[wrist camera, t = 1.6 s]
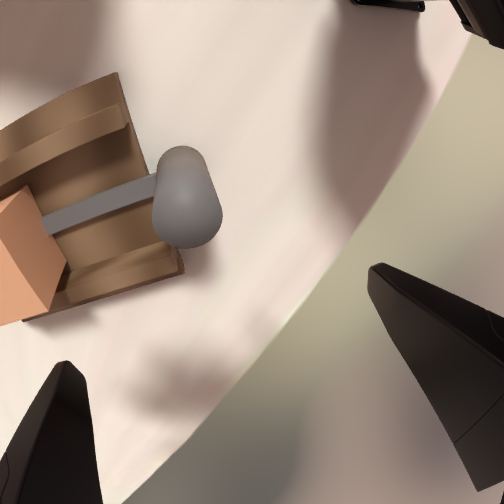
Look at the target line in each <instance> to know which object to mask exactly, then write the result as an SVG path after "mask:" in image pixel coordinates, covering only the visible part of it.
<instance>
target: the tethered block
mask: <svg viewBox="0 0 504 504" xmlns="http://www.w3.org/2000/svg"><path fill="white" fill-rule="evenodd" d="M152 196H154V200H153V211H152V223H153V227H154V230H155V232H156V234H157V235H158V236H159V237H160V239H161V240H163V241H164V242H165V243H167V244H169V245H171V246H173V247H177V248H183V249H189V248H195V247H198V246H201V245H203V244H205V243H207V242H208V241H210V240H211V239H212V238H213V237H214V236H215V235H216V233H217V232H218V230H219V228H220V226H221V223H222V217H223V215H222V208H221V205H220V202H219V199H218V197H217V194H216V191H215V188H214V185H213V183H212V180H211V177H210V174H209V172H208V169H207V166H206V163H205V160H204V158H203V156H202V155H201V154H200V153H199V152H198V151H197V150H195V149H194V148H191V147H188V146H177V147H174V148H171V149H169V150H168V151H166V152H165V153H164V154H163V155H162V156H161V158H160V160H159V162H158V165H157V172H156V173H153V174H150V175H147V176H145V177H142V178H139V179H136V180H133V181H130V182H128V183H125V184H122V185H119V186H117V187H114V188H111V189H109V190H106V191H103V192H101V193H98V194H96V195H93V196H91V197H88V198H86V199H83V200H81V201H78V202H76V203H73V204H71V205H69V206H66V207H64V208H62V209H59V210H57V211H55V212H53V213H50V214H48V215H46V216H44V217H43V216H42V214H41V212H40V210H39V208H38V206H37V204H36V202H35V200H34V198H33V195H32V193H31V191H30V189H29V187H28V185H25V186H23V187H21V188H19V189H17V190H15V191H14V192H12V193H10V194H8V195H6V196H5V197H3V198H1V199H0V326H3V325H6V324H9V323H13V322H16V321H19V320H22V319H25V318H29V317H32V316H35V315H38V314H42V313H45V312H48V311H49V308H50V305H51V302H52V299H53V296H54V293H55V291H56V288H57V285H58V282H59V279H60V277H61V274H62V271H63V269H64V266H65V264H66V261H67V260H66V258H65V257H64V255H63V253H62V251H61V250H60V248H59V246H58V244H57V243H56V241H55V239H54V237H53V235H52V234H54V233H56V232H58V231H61V230H63V229H66V228H68V227H71V226H73V225H76V224H78V223H81V222H83V221H86V220H88V219H91V218H94V217H96V216H99V215H102V214H104V213H107V212H110V211H112V210H115V209H118V208H121V207H123V206H126V205H129V204H132V203H135V202H138V201H141V200H144V199H146V198H149V197H152Z"/></svg>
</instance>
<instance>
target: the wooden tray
mask: <svg viewBox="0 0 504 504" xmlns="http://www.w3.org/2000/svg"><path fill="white" fill-rule="evenodd" d="M147 175H150V174H149V172H148V169H147V166H146V163H145V160H144V157H143V154H142V151H141V148H140V145H139V142H138V139H137V136H136V133H135V130H134V126H133V123H132V120H131V117H130V114H129V110H128V107H127V104H126V101H125V97H124V94H123V90H122V87H121V83H120V80H119V76H118V73H117V72H116V73H112V74H109V75H107V76H104V77H102V78H100V79H97V80H95V81H92V82H90V83H88V84H85V85H83V86H81V87H79V88H77V89H74V90H72V91H70V92H68V93H66V94H64V95H62V96H60V97H58V98H56V99H54V100H52V101H50V102H48V103H46V104H44V105H42V106H41V107H39V108H37V109H35V110H33V111H32V112H30V113H28V114H26V115H25V116H23V117H21V118H19V119H18V120H16V121H14V122H13V123H11V124H10V125H8V126H6V127H5V128H3V129H2V130H0V199H1V198H3V197H5V196H6V195H8V194H10V193H12V192H14V191H15V190H17V189H19V188H21V187H23V186H25V185H28V187H29V189H30V191H31V193H32V195H33V198H34V200H35V202H36V204H37V206H38V208H39V210H40V212H41V214H42V216H43V217H44V216H46V215H48V214H50V213H53V212H55V211H57V210H59V209H62V208H64V207H66V206H69V205H71V204H73V203H76V202H78V201H81V200H83V199H86V198H88V197H91V196H93V195H96V194H98V193H101V192H103V191H106V190H109V189H111V188H114V187H117V186H119V185H122V184H125V183H128V182H130V181H133V180H136V179H139V178H142V177H145V176H147ZM153 200H154V196H152V197H149V198H146V199H144V200H141V201H138V202H135V203H132V204H129V205H126V206H123V207H121V208H118V209H115V210H112V211H110V212H107V213H104V214H102V215H99V216H96V217H94V218H91V219H88V220H86V221H83V222H81V223H78V224H76V225H73V226H71V227H68V228H66V229H63V230H61V231H58V232H56V233H54V234H52V235H53V237H54V239H55V241H56V243H57V244H58V246H59V248H60V250H61V251H62V253H63V255H64V257H65V258H66V260H67V261H66V264H65V266H64V269H63V271H62V274H61V277H60V279H59V282H58V285H57V288H56V291H55V293H54V296H53V299H52V302H51V305H50V308H49V311H48V312H45V313H42V314H38V315H35V316H32V317H29V318H25V319H22V322H26V321H29V320H32V319H36V318H39V317H42V316H46V315H49V314H52V313H55V312H59V311H62V310H65V309H69V308H72V307H75V306H79V305H82V304H85V303H88V302H92V301H95V300H98V299H102V298H105V297H108V296H112V295H115V294H118V293H121V292H125V291H128V290H131V289H135V288H138V287H141V286H144V285H148V284H151V283H154V282H158V281H161V280H164V279H168V278H171V277H174V276H177V275H181V274H184V273H185V271H184V264H183V262H182V259H181V257H180V254H179V252H178V249H177V247H173V246H171V245H169V244H167V243H165V242H164V241H163V240H161V239H160V237H159V236H158V235H157V234H156V232H155V230H154V227H153V223H152V211H153Z"/></svg>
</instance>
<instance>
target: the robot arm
mask: <svg viewBox="0 0 504 504" xmlns="http://www.w3.org/2000/svg"><path fill="white" fill-rule="evenodd" d="M350 1H351V2H352V3H353V4H354V5H357V6H371V7H382V8H392V9H400V10H407V11H414V12H424V11H425V4H424V1H434V0H359V1H358V0H350ZM449 1H450V2H451V4H452V5H453V7H454V9H455V10H456V12H457V14H458V15H459V17H460V19H461V23H462V25H463V27H464V29H465V30H466V31H469V32H471V33H474V34H476V35H478V36H480V37H483V38H485V39H487V40H488V41H489V44H491V45H493V46H495V47H498V48H501V49H504V0H449ZM418 5H419V7H418ZM367 288H368V293H369V296H370V298H371V300H372V302H373V304H374V306H375V308H376V310H377V312H378V314H379V316H380V317H381V320H382V322H383V323H384V325H385V328H386V329H387V332H388V334H389V335H390V337H391V339H392V341H393V342H394V344H395V346H396V347H397V349H398V350H399V352H400V353H401V355H402V357H403V358H404V360H405V361H406V363H407V365H408V366H409V368H410V369H411V371H412V373H413V374H414V376H415V378H416V379H417V381H418V383H419V384H420V386H421V388H422V390H423V391H424V393H425V395H426V396H427V398H428V400H429V401H430V403H431V405H432V407H433V408H434V410H435V412H436V414H437V415H438V417H439V419H440V421H441V423H442V424H443V426H444V428H445V430H446V432H447V433H448V435H449V437H450V439H451V441H452V443H454V444H453V445H454V447H455V449H456V451H457V452H458V454H459V456H460V458H461V460H462V462H463V464H464V466H465V468H466V470H467V472H468V474H469V476H470V478H471V480H472V482H473V484H474V486H475V488H476V490H477V491H478V492H479V491H482V490H484V489H486V488H489V487H491V486H493V485H495V484H498V483H500V482H502V481H504V318H503V317H501V316H499V315H497V314H495V313H493V312H491V311H488V310H486V309H484V308H482V307H480V306H478V305H476V304H474V303H472V302H469V301H467V300H465V299H463V298H461V297H459V296H457V295H455V294H452V293H450V292H448V291H446V290H443V289H441V288H439V287H437V286H435V285H433V284H430V283H428V282H426V281H424V280H422V279H419V278H417V277H415V276H413V275H410V274H408V273H406V272H404V271H401V270H399V269H397V268H394V267H392V266H390V265H388V264H385V263H378V264H376V265H374V266H371V267H370V268H369V271H368V286H367ZM0 504H103V500H102V494H101V489H100V483H99V476H98V469H97V461H96V453H95V444H94V433H93V424H92V418H91V412H90V405H89V398H88V391H87V383H86V379H85V377H84V375H83V374H82V373H81V372H80V371H79V370H78V369H77V368H76V367H75V366H74V365H73V364H72V363H71V362H70V361H67V360H66V361H62V362H58V363H57V364H56V365H55V366H54V368H53V369H52V371H51V373H50V374H49V376H48V377H47V379H46V380H45V382H44V384H43V385H42V387H41V389H40V390H39V392H38V393H37V395H36V397H35V398H34V400H33V402H32V404H31V405H30V407H29V409H28V410H27V412H26V414H25V416H24V417H23V419H22V421H21V423H20V425H19V426H18V428H17V430H16V432H15V434H14V435H13V437H12V439H11V441H10V443H9V445H8V447H7V449H6V452H5V453H4V455H3V457H2V459H1V461H0ZM500 504H504V493H503V496H502V499H501V503H500Z"/></svg>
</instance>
